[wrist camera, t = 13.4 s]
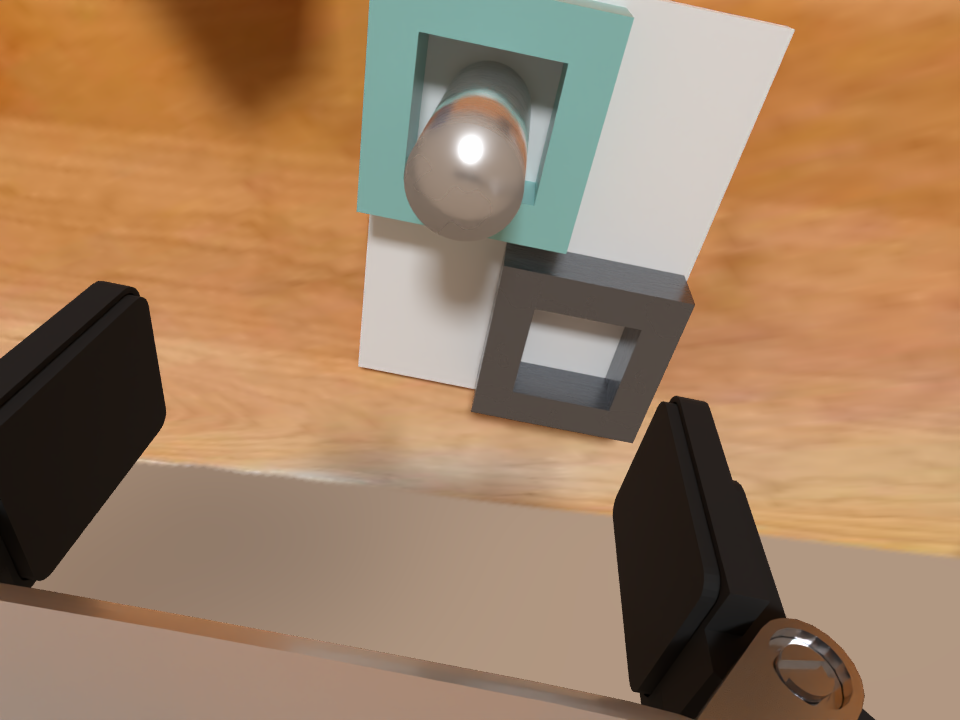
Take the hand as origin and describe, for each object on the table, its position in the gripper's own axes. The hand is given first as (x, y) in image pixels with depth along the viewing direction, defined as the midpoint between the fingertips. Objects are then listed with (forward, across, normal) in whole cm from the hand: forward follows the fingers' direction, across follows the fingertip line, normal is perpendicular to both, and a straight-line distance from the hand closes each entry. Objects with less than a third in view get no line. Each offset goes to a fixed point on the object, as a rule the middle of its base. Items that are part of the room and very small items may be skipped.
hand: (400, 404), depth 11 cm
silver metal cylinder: (+21, 0, 0) cm, 21 cm away
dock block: (+21, 0, 0) cm, 21 cm away
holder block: (+21, -7, +11) cm, 25 cm away
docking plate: (+22, -3, +5) cm, 23 cm away
